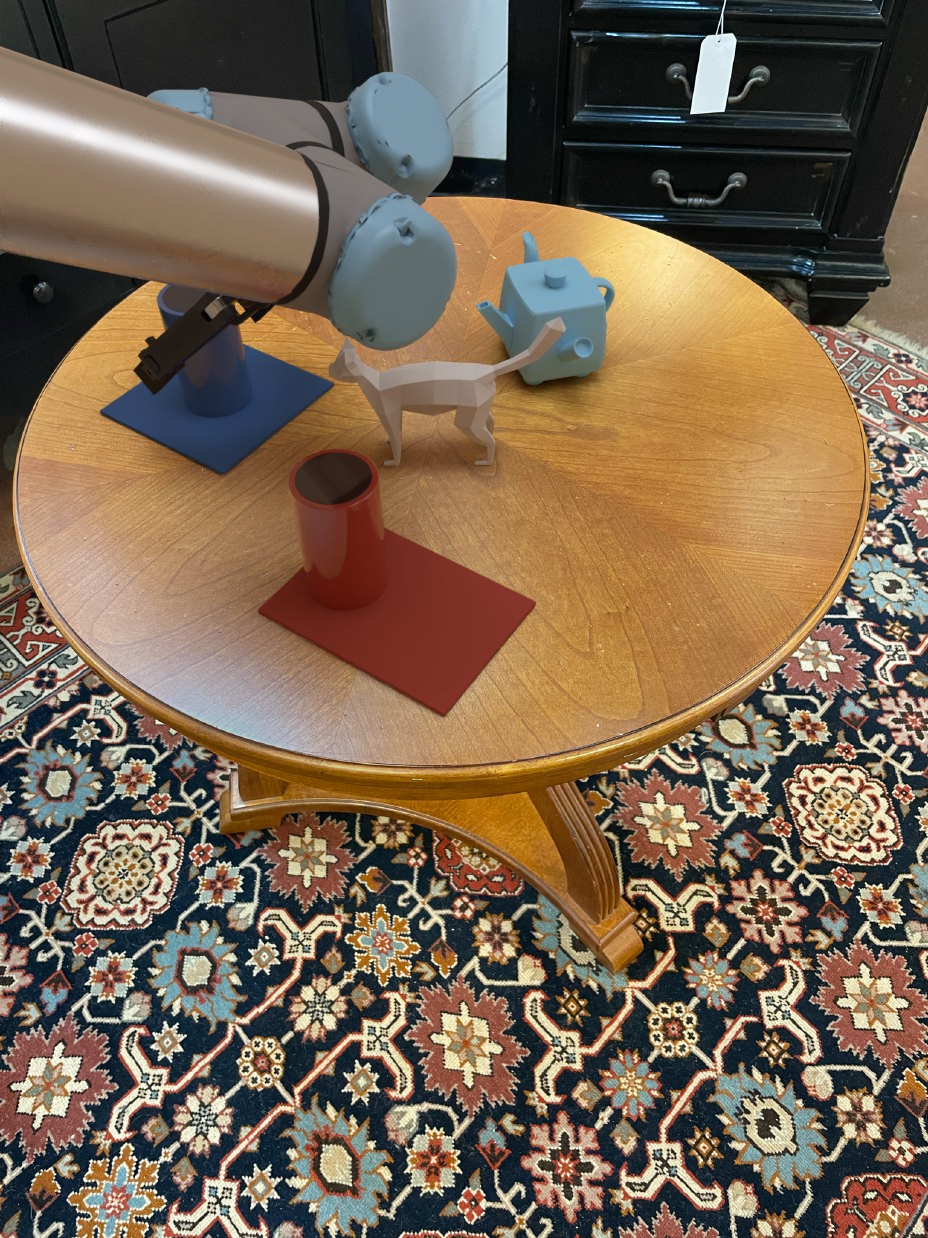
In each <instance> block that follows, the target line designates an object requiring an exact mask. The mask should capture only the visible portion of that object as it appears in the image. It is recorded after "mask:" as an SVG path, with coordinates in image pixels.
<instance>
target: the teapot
mask: <svg viewBox="0 0 928 1238" xmlns="http://www.w3.org/2000/svg"><path fill="white" fill-rule="evenodd" d="M522 242H523V246H524V247H523V248H524V249H523V250H524V254H523V255H524V256H523V263H519V264H513V265H508V266H507V267H506V268H505V272H504V277H503V280H502V281H503V282H502V286H501V292H500V298H499V304H498V305H499V306H498V308H497V307H496V306H495V305H494V304H493V303H491V301H490V300H489V299H486V300H484V301H481V302H478V303H476V304H475V306H476V308H477V310H478V312H479V314H481V316H482V317H483V318H484V320H485V321H486V322H487V323H488V324H489V325H490V326H491V328H492V329H493V330H494V332H495V333H496V334H497V335H498V336H499V338H500V339H501V341H502V342H503V345H504V347H505V350H506V352H507V354H508V356H509V359H511V358H513V357H515V356H517V355H518V354H520V353H522V352H524V351H525V350H527V349H529V347H530V346H531V345H532V343H533V342H534V340H535V339H536V337H537V336H538V335H539V333H540V332H541V330H542V328H543V327H544V325H545V324H546V323H547V322H549V321H551V320H553V319H556V318H558V317H560V318H561V319H562V321H563V323H564V325H565V327H566V330H565V331H564V333H563V334H562V335H561V336H560V337H559V338H558V339H557V341H556V342H555V343H554V344H553V345H552V346H551V347H550V348H549V349H548V350H547V351H546V352H545V353H544V354H543V355H542V356H541V357H540V358H539V359H538V360H536V361H534V362H532V363H530V364H528V365H526V366H524V367H521V368H519V369H517V371H518V372H519V374H520V375H521V377H522V380H523V381H524V383H526V385H527V384H528V385H531V386H537V385H541V384H542V383H543V382H544V381H550V380H558V379H563V378H569V377H577V378H583V377H586V376H588V375H589V374H590V373H594V372H598V371H600V370H601V368H602V366H603V363H604V360H605V355H606V348H607V346H606V345H607V330H608V322H607V312H608V311H609V310H610V308H611V306H612V304H613V302H614V300H615V296H616V290H615V287H614V285H613V284H612V283H611V281H609V280H608V279H607V278H605V277H601V276H594V277H592V275H591V274H590V272H589V271H588V269H586V267H585V266H584V265H583V264H582V263H581V262H580V261H579V260H578V259H577V258H576V257H575V256H566V257H558V258H552V259H551V258H550V259H544V260H543V259H542V260H540V255H539V250H538V245H537V242H536V239H535V237H534V235H533V234H532V233H531V232H529V231H524V232H523V233H522ZM600 288H605V290H606V291H605V294H604V295H603V293H602V292H601V289H600Z"/></svg>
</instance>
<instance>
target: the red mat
mask: <svg viewBox="0 0 928 1238" xmlns="http://www.w3.org/2000/svg"><path fill="white" fill-rule="evenodd" d="M384 535H385V546H386V557H387V568H388V583H387V586H386V588H385V590H384V592H383V593H382V594H381V596H380V597H379V598H377V599H376V600H375V601H374V602H372V603H370V604H368V605H366V606H364V607H361V608H357V609H352V610H337V609H332V608H329V607H326V606H324V605H322V604H320V603H319V602H317V601H316V600H315V599H314V598H313V597H312V595H311V594H310V592H309V590H308V586H307V581H306V576H305V571H304V565H303V566H302V567H301V568H300V569H299V570H298V571H297V572H296V573H294V574H293V575H292V576H291V578H289V579H288V580H287V581H286V582H285V583H284V584H283V585H282V586H280V588H279V589H278V590H276V592H274V593H273V594H272V595H271V596H270V597H269V598H268V599H267V600H266V601H265V602H264V603H263V604H262V605H261V606H259V608H258V609H257V613H259V614H260V615H262V616H264V617H265V618H266V619H269V620H271V621H273V622H274V623H276V624H277V625H279V626H282V627H283V628H284V629H287V630H288V631H290V632H292V633H294V634H296V635H297V636H299V637H301V638H303V639H305V640H306V641H308V642H310V643H312V644H314V646H315V645H316V646H317V647H319V648H321V649H322V650H324V651H326V652H327V653H330V654H331V655H333V656H335V657H337V658H338V659H341V660H342V661H344V662H346V663H347V664H349V665H351V666H353V667H355V668H356V669H358V670H361V671H362V672H363V673H365V674H367V675H368V676H371V677H372V678H374V679H376V680H378V681H380V682H381V683H384V684H385V685H386V686H388V687H390V688H392V689H394V690H395V691H397V692H398V693H401V694H403V695H404V696H405V697H406V696H407V697H408V698H410V699H412V700H413V701H415V702H417V703H419V704H420V705H422V706H424V707H425V708H428V709H429V710H431V711H432V712H434V713H436V714H438V715H440V716H442V717H443V718H444V717H446V716H447V714H448V713H449V712H450V711H451V709H452V708H453V707H454V705H455V704H456V703H457V702H458V701H459V699H460V698H462V695H464V694H465V692H466V691H467V690H468V689H469V687H470V686H471V685H472V684H473V683H474V681H475V680H476V679H477V677H478V676H479V675H480V674H481V673H482V672H483V670H484V669H485V668H486V667H487V665H488V664H489V663H490V662H491V660H492V659H493V658H494V657H495V655H496V654H497V653H498V652H499V650H501V648H502V647H503V646H504V644H505V643H506V642H507V641H508V640H509V639H510V638H511V636H512V634H513V633H514V632H515V631H516V630H517V629H518V627H519V626H520V625H521V624H522V622H524V621H525V619H526V618H527V616H528V615H529V614H530V613H531V612H532V610H533V609H534V608H535V607H536V605H537V601H536V600H534V599H531V598H530V597H527V596H525V595H524V594H522V593H519V592H517V591H515V590H513V589H511V588H509V587H506V586H505V585H504V584H501V583H498V582H497V581H494V580H493V579H490V577H489V578H488V577H486V576H484V575H482V574H480V573H478V572H476V571H474V570H472V569H470V568H468V567H466V566H464V565H462V564H460V563H458V562H456V561H454V560H452V559H449V558H447V557H445V556H443V555H442V554H441V553H437V552H435V551H433V550H431V549H429V548H427V547H425V546H423V545H421V544H419V543H417V542H415V541H413V540H411V539H409V538H407V537H405V536H402V535H400V534H399V533H396V532H394V531H393V530H390V529H389V528H386V527H384Z"/></svg>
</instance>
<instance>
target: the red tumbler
mask: <svg viewBox="0 0 928 1238" xmlns="http://www.w3.org/2000/svg"><path fill="white" fill-rule="evenodd" d="M287 484H288V485H287V486H288V492H289V496H290V501H291V506H292V514H293V517H294V523H295V528H296V533H297V538H298V543H299V549H300V554H301V560H302V564H303V566H304V571H305V576H306V581H307V586H308V590H309V592H310V594H311V595H312V597H313V598H314V599H315V600H316V601H317V602H319V603H320V604H322V605H324V606H326V607H329V608H332V609H337V610H352V609H357V608H361V607H364V606H366V605H368V604H370V603H372V602H374V601H375V600H376V599H377V598H379V597H380V596H381V594H382V593H383V592H384V590H385V588H386V586H387V583H388V568H387V557H386V546H385V535H384V528H385V525H384V524H385V523H384V514H383V504H382V492H381V491H382V490H381V481H380V472H379V469H378V467H377V465H376V464H375V462H374V461H373V460H372V459H370V458H369V456H367V455H365V454H363V453H362V452H358V451H356V450H352V449H346V448H329V449H324V450H319V451H316V452H313V453H310V454H308V455H306V456H305V457H303V458H302V459H300V460H298V462H297V463H295V465H294V466H293V468H292V469H291V471H290V472H289V476H288V480H287Z"/></svg>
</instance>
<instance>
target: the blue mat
mask: <svg viewBox="0 0 928 1238" xmlns="http://www.w3.org/2000/svg"><path fill="white" fill-rule="evenodd" d="M243 347H244V351H245V356H246V361H247V366H248V371H249V376H250V380H251V385H252V390H253V396H252V399H251V401H250V402H249V404H248V405H247V406H246V407H245V408H243V409H242V410H240V411H238V412H236V413H234V414H231V415H228V416H224V417H203V416H199V415H197V414H195V413H193V412H191V411H190V410H189V409H188V408H187V407H186V405H185V402H184V398H183V394H182V391H181V387H180V384H179V380H178V376H177V374H176V375H175V376H174V377H173V378H172V379H171V380H170V381H169V382H168V383H167V384H166V385H165V386H164V387H163V388H162V389H161V390H160V391H159V392H158V393H156V394H155V395H153V394H152V393H151V392H150V390H149V389H148V388H147V387H146V386H145V384H144V383H143V382H142V381H140V382H139V383H137V384H136V385H135V386H133V387H131V388H130V389H129V390H127V391H126V392H124V393H123V394H122V395H120V396H119V397H117V398H116V399H115V400H113V401H112V402H110V403H109V404H107V405H106V406H104V407H103V408H100V410H99V413H100V415H102V416H105V417H106V418H108V419H110V420H112V421H114V422H115V423H118V424H120V425H122V426H124V427H126V428H128V429H130V430H132V431H134V432H136V433H138V434H140V435H142V436H144V437H145V438H148V439H150V440H152V441H154V442H156V443H158V444H160V445H162V446H164V447H166V448H168V449H169V450H171V451H174V452H176V453H178V454H180V455H182V456H184V457H186V458H187V459H190V460H192V461H193V462H196V463H198V464H200V465H202V466H203V467H205V468H207V469H210V471H211V470H212V471H213V472H216V473H217V474H219V475H221V476H225V475H226V474H227V473H229V472H230V471H231V470H233V468H234V467H236V466H237V465H238V464H239V463H241V462H242V461H244V460H245V459H246V458H247V457H248V456H249V455H251V454H252V453H253V452H254V451H256V450H257V449H258V448H259V447H260V446H263V444H264V443H266V442H267V441H268V440H269V439H270V438H272V437H273V436H274V435H275V434H276V433H278V432H279V431H281V430H282V429H283V428H284V427H285V426H287V425H288V424H289V423H290V422H292V420H294V419H295V418H297V416H299V415H300V414H301V413H302V412H304V411H305V410H306V409H308V408H309V407H310V406H311V405H312V404H314V403H315V402H316V401H317V400H318V399H320V398H321V397H322V396H324V395H325V394H326V393H327V392H329V390H331V389H332V388H333V387H334V386H335V383H334V382H333V381H331V380H329V379H326V378H324V377H322V376H319V375H317V374H316V373H315V374H314V373H312V372H310V371H307V370H305V369H303V368H300V367H298V366H296V365H294V364H291V363H290V362H287V361H285V360H282V359H280V358H277V357H275V356H273V355H270V354H268V353H266V352H264V351H262V350H260V349H257V348H254V347H253V346H250V345H248V344H245V343H243Z"/></svg>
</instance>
